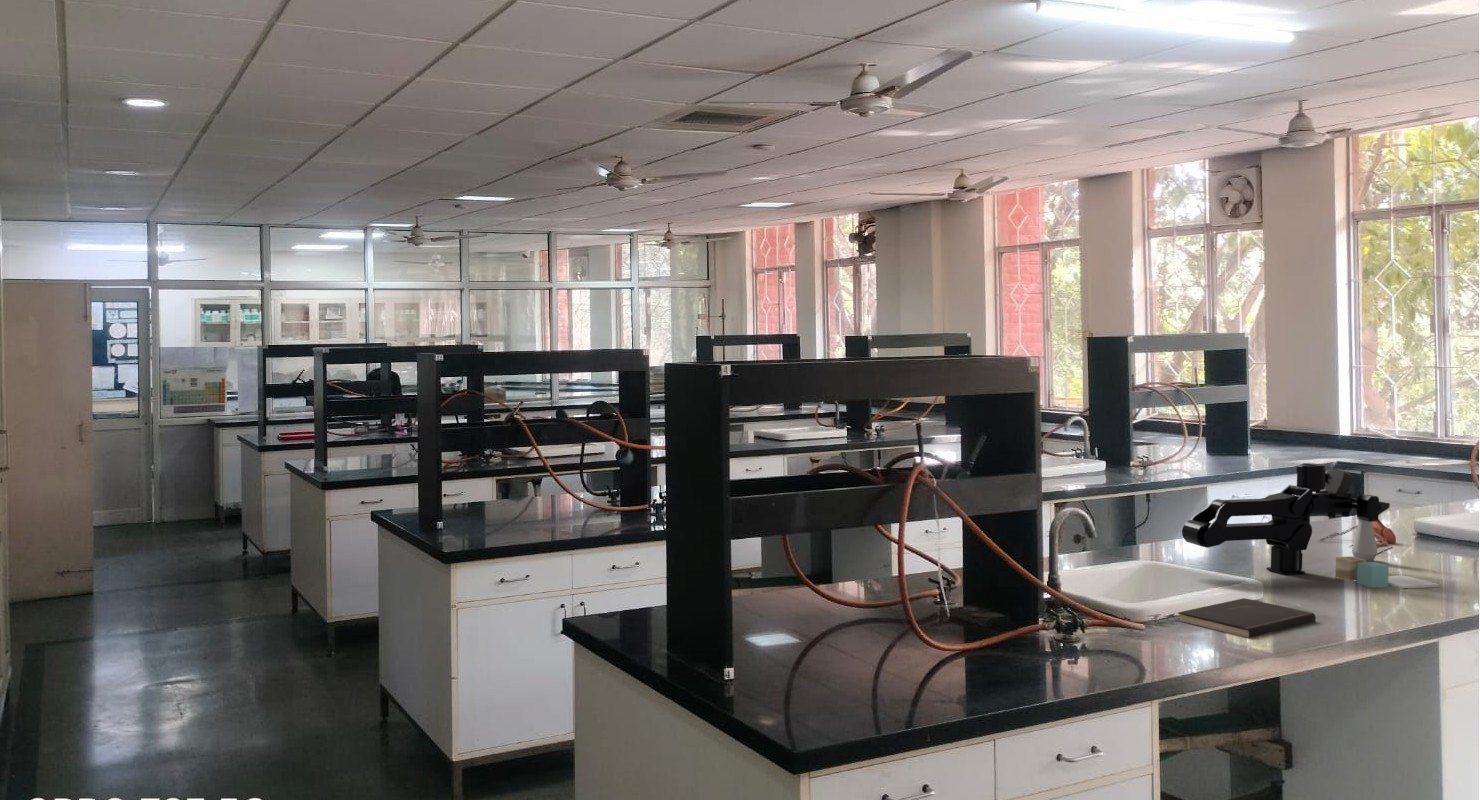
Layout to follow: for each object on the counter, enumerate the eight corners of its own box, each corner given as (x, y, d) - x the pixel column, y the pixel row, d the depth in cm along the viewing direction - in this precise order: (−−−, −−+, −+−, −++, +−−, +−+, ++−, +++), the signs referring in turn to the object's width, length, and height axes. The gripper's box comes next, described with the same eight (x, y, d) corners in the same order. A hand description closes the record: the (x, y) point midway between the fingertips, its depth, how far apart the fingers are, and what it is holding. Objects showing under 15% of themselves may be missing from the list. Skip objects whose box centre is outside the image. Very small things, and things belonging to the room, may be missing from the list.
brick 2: (1371, 587, 260) (1372, 566, 260) (1357, 583, 265) (1357, 562, 265) (1388, 586, 261) (1388, 565, 261) (1373, 582, 266) (1373, 562, 266)
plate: (1401, 588, 259) (1401, 586, 259) (1368, 579, 269) (1369, 577, 269) (1438, 586, 261) (1438, 584, 261) (1404, 577, 271) (1404, 575, 271)
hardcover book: (1177, 623, 230) (1178, 612, 230) (1243, 608, 243) (1244, 598, 243) (1249, 641, 217) (1250, 629, 217) (1315, 624, 229) (1315, 613, 229)
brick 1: (1349, 581, 267) (1349, 560, 267) (1335, 577, 272) (1336, 557, 271) (1365, 580, 268) (1365, 559, 268) (1351, 576, 273) (1351, 556, 272)
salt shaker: (1375, 563, 288) (1376, 513, 287) (1350, 560, 291) (1351, 511, 290) (1378, 560, 292) (1380, 510, 292) (1353, 557, 296) (1355, 508, 295)
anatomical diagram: (1368, 513, 323) (1427, 524, 298) (1380, 541, 324) (1439, 554, 299) (1305, 541, 322) (1358, 555, 297) (1317, 569, 323) (1371, 585, 298)
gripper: (1350, 477, 269) (1405, 475, 273) (1296, 468, 287) (1348, 466, 291) (1349, 522, 270) (1403, 520, 273) (1295, 511, 288) (1347, 509, 291)
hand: (1374, 502), depth 282 cm, fingers open, 9 cm apart
